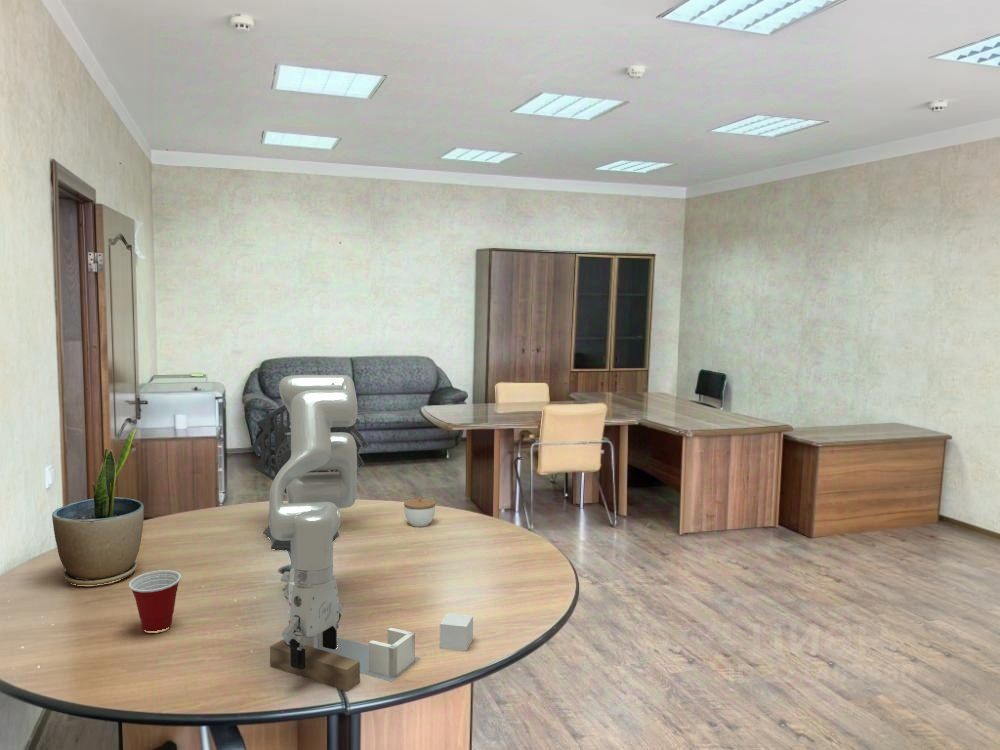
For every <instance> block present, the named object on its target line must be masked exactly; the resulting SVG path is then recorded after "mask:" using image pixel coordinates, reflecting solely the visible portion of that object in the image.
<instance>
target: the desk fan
mask: <svg viewBox="0 0 1000 750" xmlns="http://www.w3.org/2000/svg"><path fill="white" fill-rule="evenodd" d="M285 411H286V421H284V412H285ZM279 415H280V419H279V420H280V422H279V423H278V416H279ZM360 422H361V420H360V419H358V417H357V419H356V422H355V423H354V425H352V426H349V427H330V433H334V432H344V433H349V434H351V435H352V436H353V438H354V440H355V443H356V449H357V473H358V472H360V469H362V468H363V467H364V466H365V463H364V460H363V458H362V457H361V456H360V454H363V452H364V451H365V449H366V448H368V447H369V443H368V442H367V440H366V439H365V437H364V436H363V434H362V433H361V432H360V431H359V430H358V428H357V427H358V426H359V424H360ZM259 426H260V427H261V428H262V433H260V434H259V436H258V437H257V438H256V439H255V441H254V442H253V444H252V446H251V447H250V449H251V451H253V452H254V453H257V454H258V455H259V456H260V459H259V461H258V463H257V464H256V466H255V470H256V471H258V472H259V473H261V474H262V475H264V476H266V477H267V478H268V479H270V480H272V482H273V481H274V479H275V477H276V475H277V473H278V472H279V471H280V469H281V468H282V467H283V466H284V465H285V464H286V463H287V462H288V461H289V459H290V458H291V418H290V414H289V412H288V410H287V408H286V406H285V405H284V404H283V405H282V406H280V407H278V408H277V409H274V410H273V411H271V412H270V413H269V414H268V415H267V416H265V417H264V418H263V419H262V420H261V421H260V422H259ZM272 434H273V436H274V437H273V439H274V440H273V441H274V444H273V445H274V448H273V447H272ZM273 456H274V463H272V459H273ZM309 472H337V470H321V471H309ZM309 472H307V473H309ZM272 473H273V474H272ZM284 494H286V495H287V492H286V489H285V491H284ZM263 534H265V535H266V536H267V537H269V538H270V540H271V541H270V540H269V541H270V543H271V542H272V544H271V545H270V546H271V547H270V550H271V549H275V550H287V551H286V552H291V540H287V541H281V540H277V539H275V538H274V537H273V536H272V535H271V532H270V528H269V525H268V526H267V527H266V528H265V530H263V531H262V535H263ZM266 536H265V537H266ZM267 537H266V538H267ZM337 537H338V538H339V537H340V533H339V532H338V531H337V532H336V533H335V535H334V536H333V541H334V540H335V539H336V538H337ZM338 538H337V539H338ZM337 539H336V540H337ZM336 540H335V541H336ZM335 541H334V542H335Z"/></svg>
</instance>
